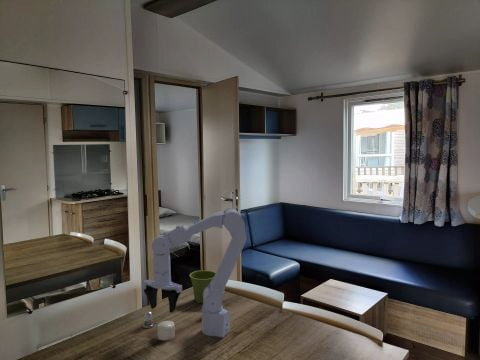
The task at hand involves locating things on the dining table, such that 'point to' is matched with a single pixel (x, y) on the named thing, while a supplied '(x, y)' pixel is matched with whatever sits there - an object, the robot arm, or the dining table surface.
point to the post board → (150, 329)
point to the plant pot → (201, 283)
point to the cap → (166, 330)
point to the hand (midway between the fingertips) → (163, 309)
